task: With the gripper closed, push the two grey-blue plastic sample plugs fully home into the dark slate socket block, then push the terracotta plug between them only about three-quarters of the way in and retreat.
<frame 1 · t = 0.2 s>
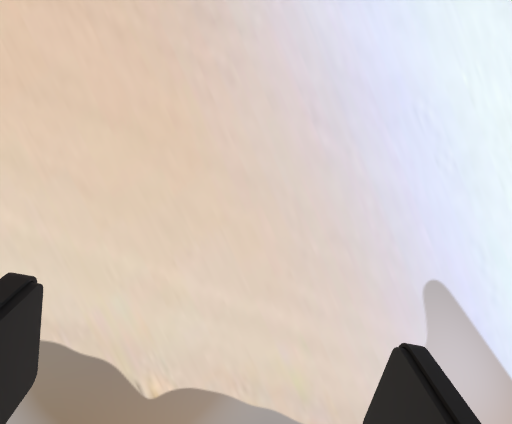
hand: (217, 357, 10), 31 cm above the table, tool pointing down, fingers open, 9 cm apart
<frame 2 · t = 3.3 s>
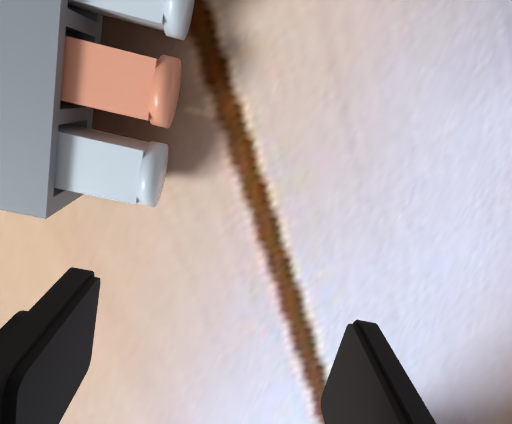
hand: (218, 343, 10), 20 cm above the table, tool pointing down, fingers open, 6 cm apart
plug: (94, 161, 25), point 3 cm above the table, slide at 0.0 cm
plug terracotta: (103, 77, 23), point 3 cm above the table, slide at 0.0 cm
socket block: (39, 59, 26), on the table
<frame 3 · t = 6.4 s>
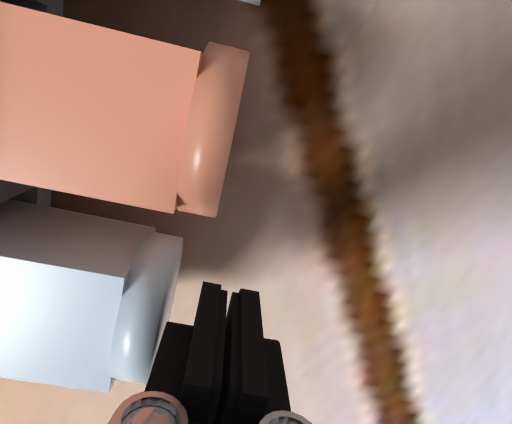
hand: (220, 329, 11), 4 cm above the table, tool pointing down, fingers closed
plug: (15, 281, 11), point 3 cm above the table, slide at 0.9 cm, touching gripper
plug terracotta: (60, 99, 9), point 3 cm above the table, slide at 0.0 cm
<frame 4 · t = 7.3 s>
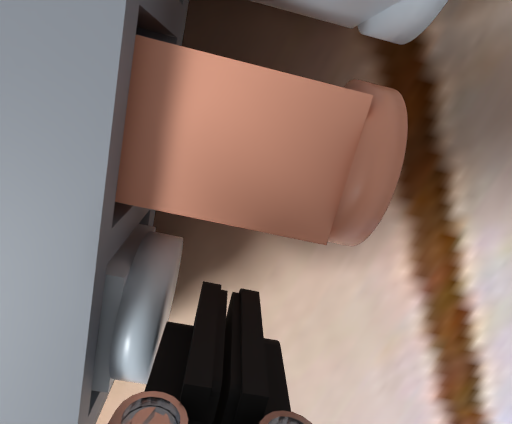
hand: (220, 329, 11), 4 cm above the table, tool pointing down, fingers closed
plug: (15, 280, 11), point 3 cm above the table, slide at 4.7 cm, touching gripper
plug terracotta: (205, 132, 10), point 3 cm above the table, slide at 0.0 cm
socket block: (51, 84, 12), on the table
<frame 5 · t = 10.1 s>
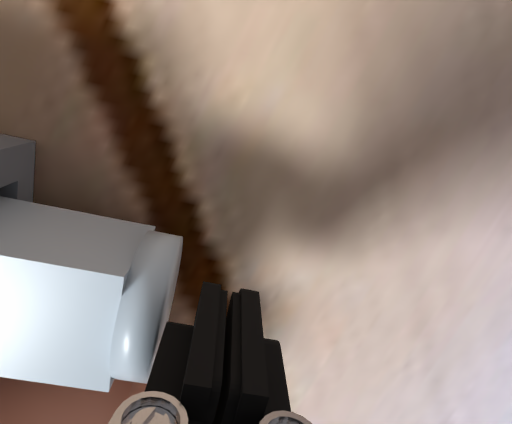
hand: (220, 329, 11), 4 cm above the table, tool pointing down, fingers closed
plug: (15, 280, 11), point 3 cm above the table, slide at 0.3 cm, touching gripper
plug terracotta: (19, 423, 13), point 3 cm above the table, slide at 0.0 cm
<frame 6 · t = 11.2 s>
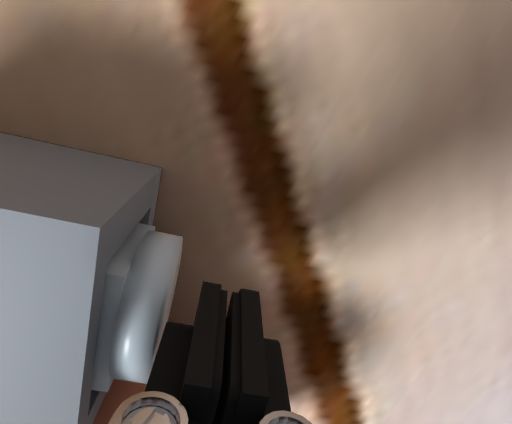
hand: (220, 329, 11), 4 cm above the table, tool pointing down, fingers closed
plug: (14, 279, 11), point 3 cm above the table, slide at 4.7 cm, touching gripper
socket block: (33, 353, 15), on the table
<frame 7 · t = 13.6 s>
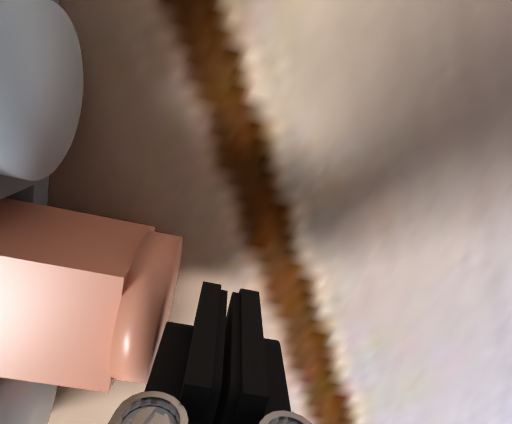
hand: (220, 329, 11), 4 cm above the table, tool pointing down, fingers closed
plug terracotta: (15, 280, 11), point 3 cm above the table, slide at 0.8 cm, touching gripper
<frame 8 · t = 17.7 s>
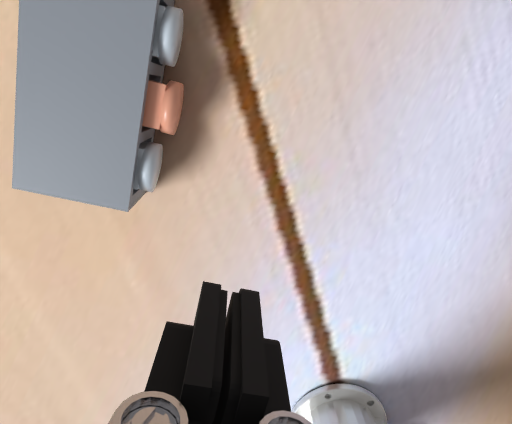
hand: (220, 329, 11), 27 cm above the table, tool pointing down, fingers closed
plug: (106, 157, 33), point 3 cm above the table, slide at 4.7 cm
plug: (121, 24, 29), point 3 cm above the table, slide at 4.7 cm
plug terracotta: (125, 97, 31), point 3 cm above the table, slide at 3.7 cm
socket block: (115, 91, 34), on the table
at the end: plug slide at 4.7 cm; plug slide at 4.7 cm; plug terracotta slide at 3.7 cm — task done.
